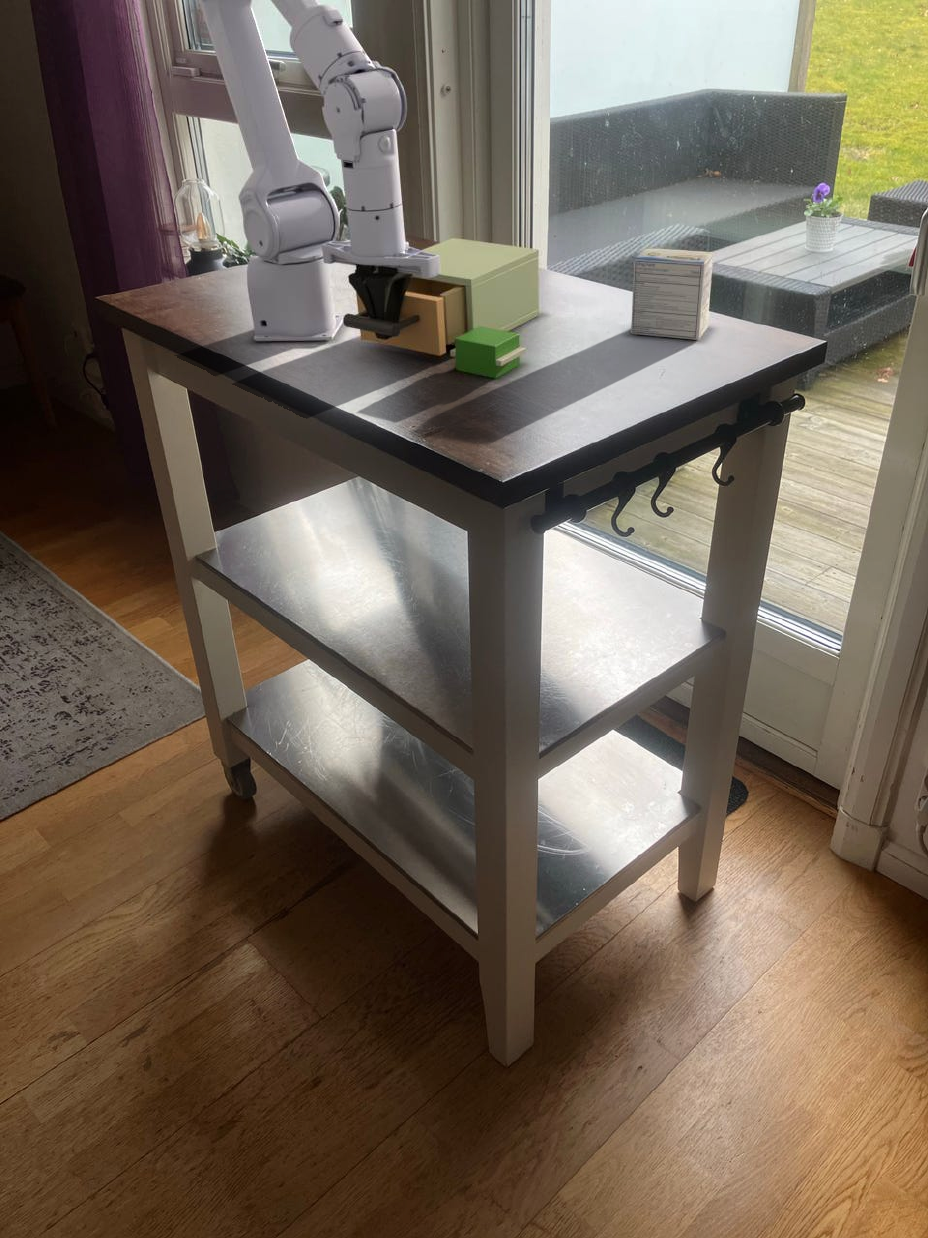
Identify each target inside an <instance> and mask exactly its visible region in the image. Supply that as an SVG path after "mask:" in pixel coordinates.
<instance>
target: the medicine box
mask: <svg viewBox="0 0 928 1238" xmlns="http://www.w3.org/2000/svg"><path fill="white" fill-rule="evenodd" d="M713 263H714V253H713V252H711V251H701V250H700V251H698V250H685V249H668V248H645V249H644V250H642V251H641V252H640V253H639V254H638V255H636V257H635V258H634V259H633V275H632V276H633V280H632V297H631V300H632V302H631V303H632V305H631V324H630V325H631V327H630V334H631V335H639V336H649V337H663V338H672V339H684V340H695V341H699V340H701V339H700V338H701V337H702V336H703V334H704V333H705V332H706V330H707V329H708V326H709V318H710V317H709V315H710V314H709V313H710V300H711V288H712V277H713V266H714V265H713Z"/></svg>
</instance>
